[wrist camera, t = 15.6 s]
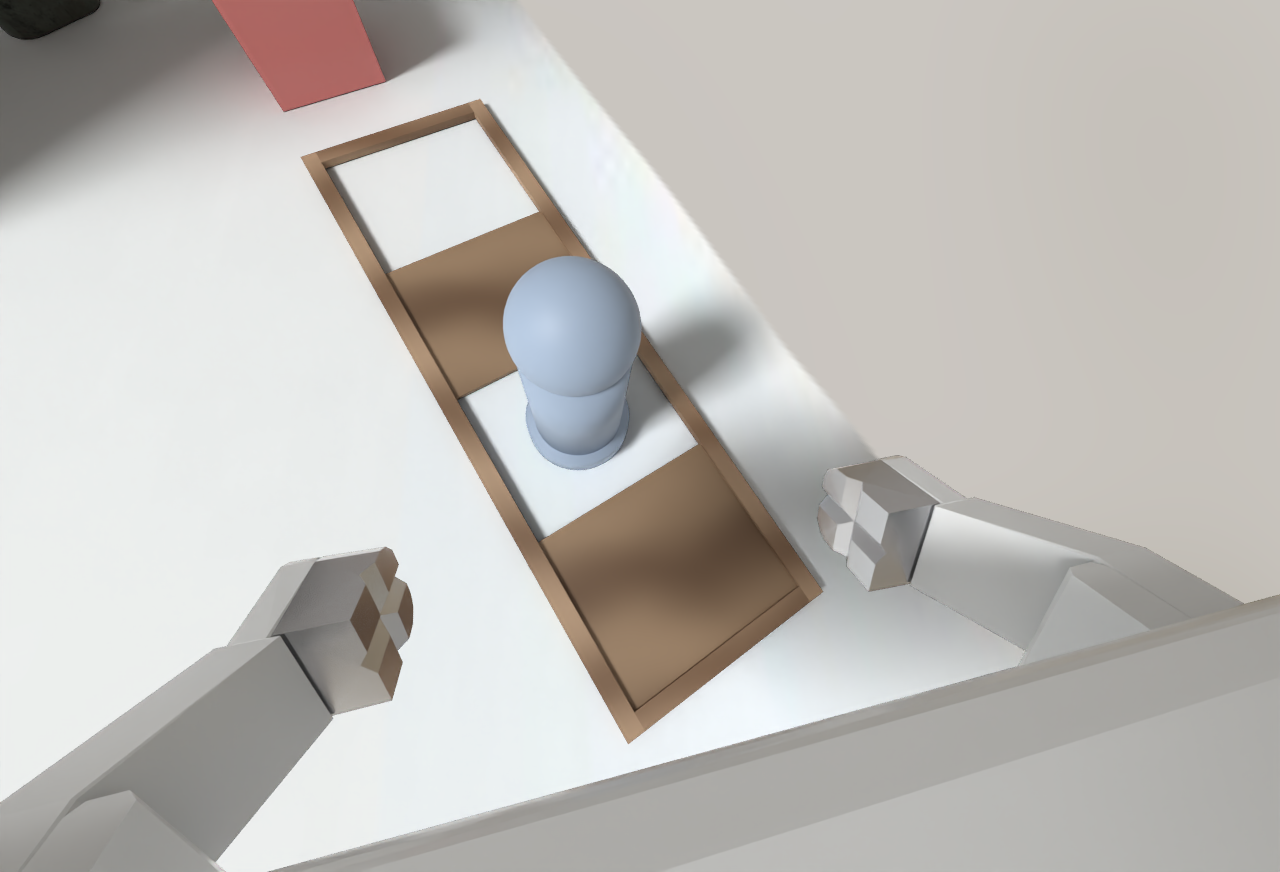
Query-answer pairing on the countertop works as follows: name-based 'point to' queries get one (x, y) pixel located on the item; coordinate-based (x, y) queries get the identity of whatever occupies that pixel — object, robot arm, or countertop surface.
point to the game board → (621, 526)
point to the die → (304, 47)
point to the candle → (41, 15)
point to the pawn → (573, 357)
